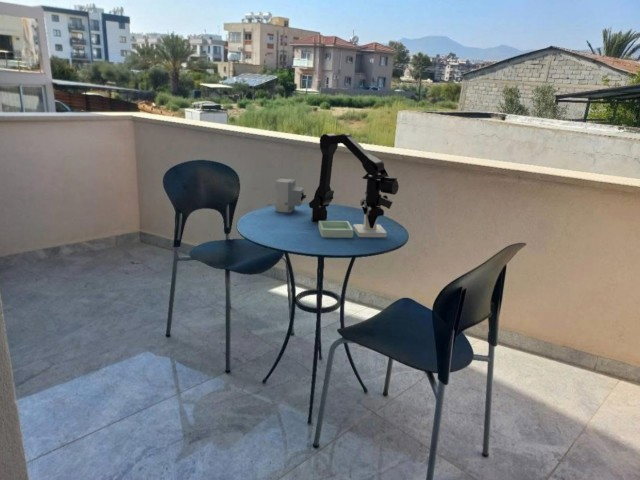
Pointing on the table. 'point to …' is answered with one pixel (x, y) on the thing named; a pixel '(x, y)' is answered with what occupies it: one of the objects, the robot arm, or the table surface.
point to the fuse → (366, 224)
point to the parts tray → (335, 229)
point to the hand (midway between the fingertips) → (369, 226)
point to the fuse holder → (369, 231)
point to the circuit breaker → (288, 195)
